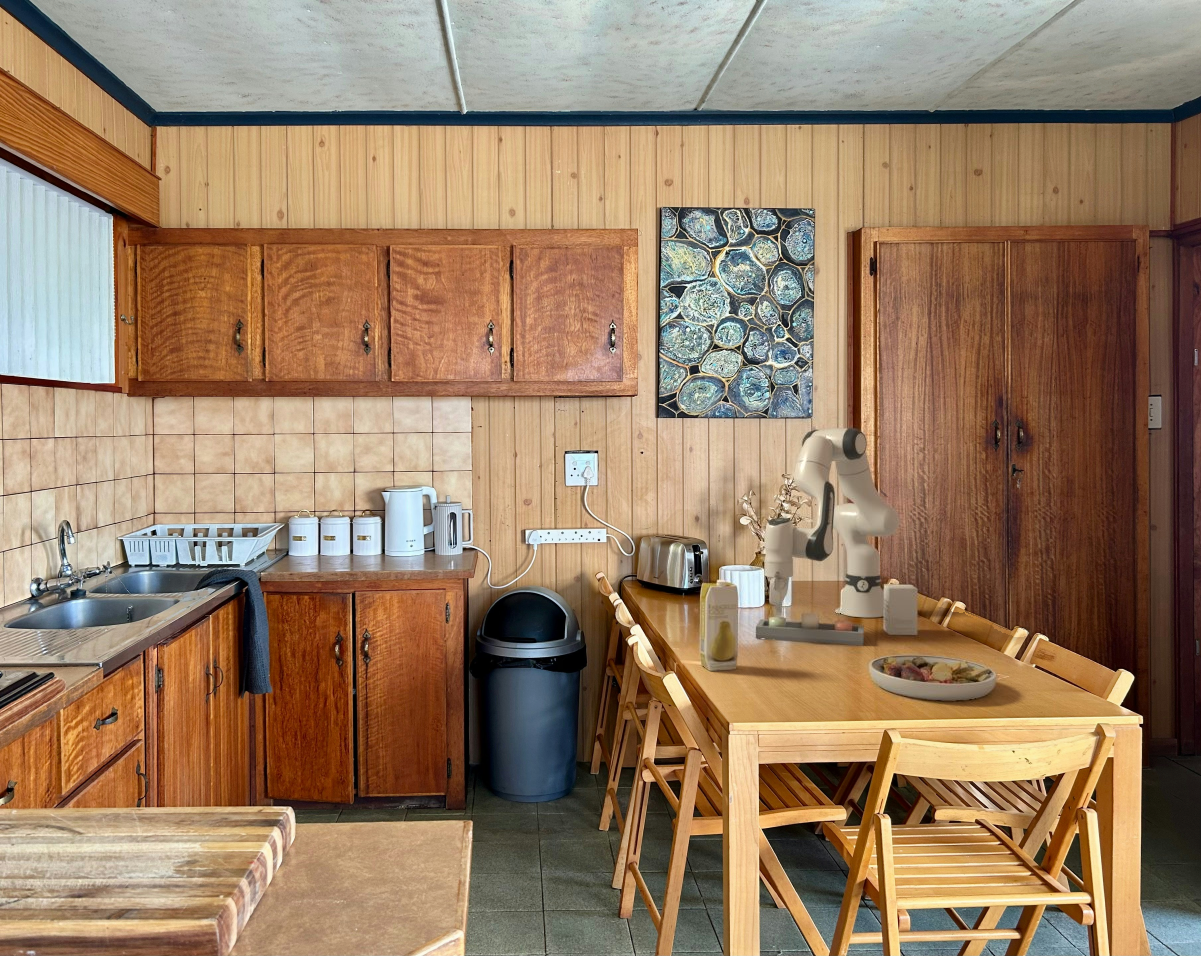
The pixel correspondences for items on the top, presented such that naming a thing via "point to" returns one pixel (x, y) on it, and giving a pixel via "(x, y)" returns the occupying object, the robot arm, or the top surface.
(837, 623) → the brick button
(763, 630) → the grey rectangular tray
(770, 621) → the sage button
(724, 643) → the juice carton
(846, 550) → the robot arm
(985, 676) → the bowl
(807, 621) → the cream round piece
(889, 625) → the supplement box
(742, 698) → the top surface
